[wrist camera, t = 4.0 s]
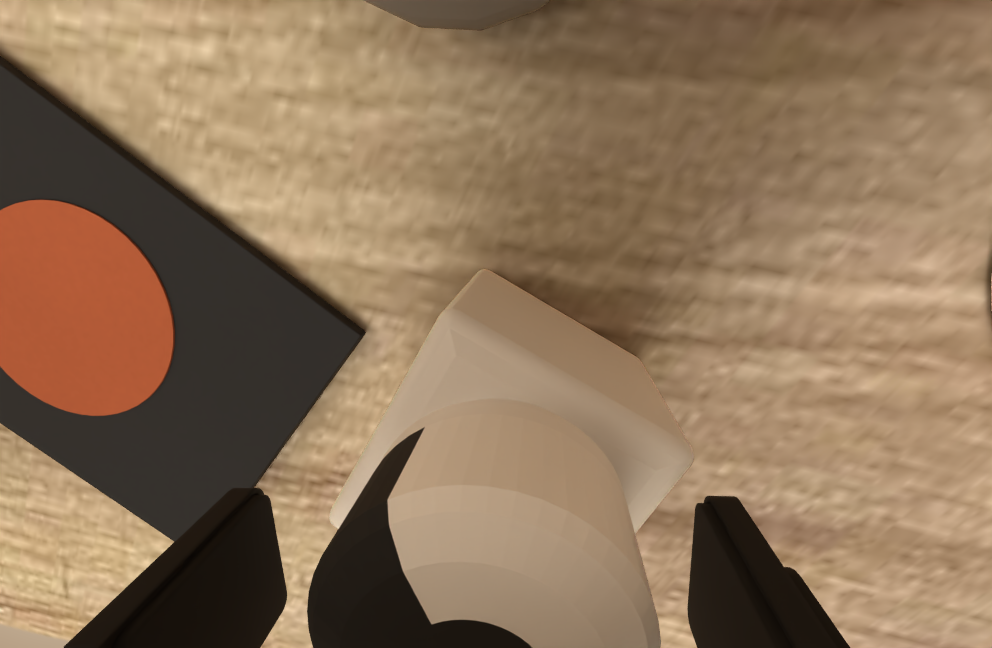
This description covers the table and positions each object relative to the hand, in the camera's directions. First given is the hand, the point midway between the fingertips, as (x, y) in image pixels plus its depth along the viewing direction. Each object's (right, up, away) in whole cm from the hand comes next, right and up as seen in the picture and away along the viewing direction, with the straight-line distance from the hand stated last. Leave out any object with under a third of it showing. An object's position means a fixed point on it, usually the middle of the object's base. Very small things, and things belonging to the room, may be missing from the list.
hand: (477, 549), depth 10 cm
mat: (-17, +5, +10) cm, 20 cm away
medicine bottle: (+1, +2, +9) cm, 9 cm away
